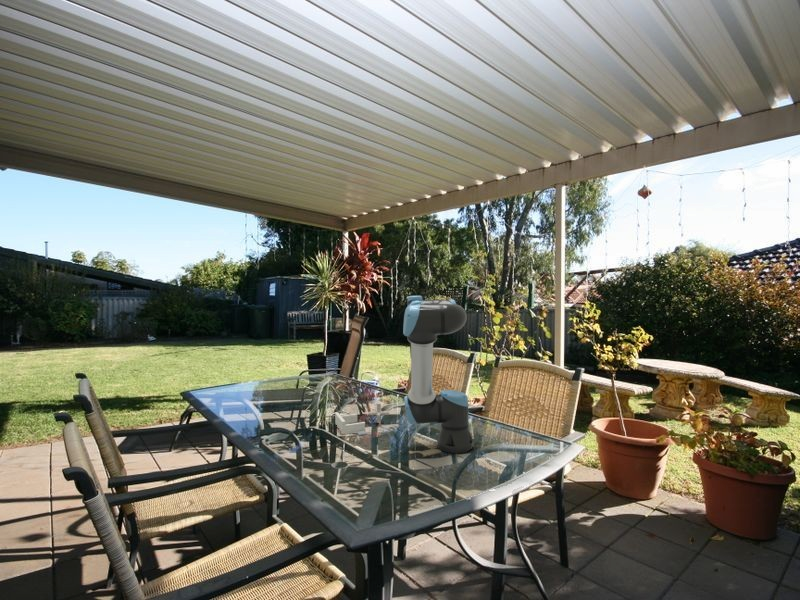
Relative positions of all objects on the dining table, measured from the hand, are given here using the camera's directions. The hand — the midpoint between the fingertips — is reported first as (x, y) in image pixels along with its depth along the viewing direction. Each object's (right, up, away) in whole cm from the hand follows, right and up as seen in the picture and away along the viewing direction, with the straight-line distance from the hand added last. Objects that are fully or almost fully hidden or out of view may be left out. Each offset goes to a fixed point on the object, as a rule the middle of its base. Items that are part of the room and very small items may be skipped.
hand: (417, 374), depth 211 cm
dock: (-33, -26, -3) cm, 42 cm away
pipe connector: (-19, -25, +2) cm, 32 cm away
